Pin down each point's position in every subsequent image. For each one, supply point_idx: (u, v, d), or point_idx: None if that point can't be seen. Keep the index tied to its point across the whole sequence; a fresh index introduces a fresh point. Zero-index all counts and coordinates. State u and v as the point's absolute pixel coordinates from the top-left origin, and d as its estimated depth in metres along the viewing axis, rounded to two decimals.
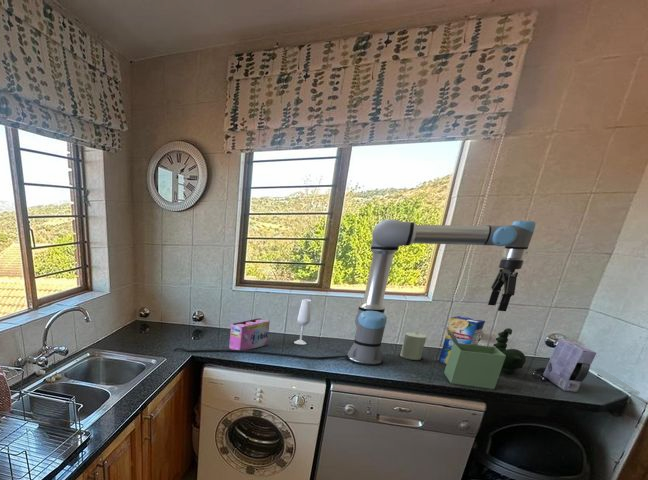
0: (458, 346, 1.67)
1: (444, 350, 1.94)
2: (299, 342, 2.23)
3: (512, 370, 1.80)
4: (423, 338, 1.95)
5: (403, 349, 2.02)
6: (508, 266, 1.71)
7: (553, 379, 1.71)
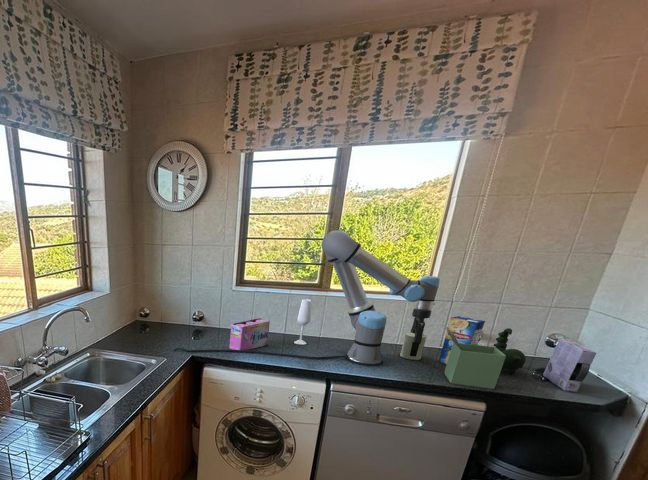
0: (458, 346, 1.67)
1: (444, 350, 1.94)
2: (299, 342, 2.23)
3: (512, 370, 1.80)
4: (423, 338, 1.95)
5: (403, 349, 2.02)
6: (418, 315, 1.93)
7: (553, 379, 1.71)
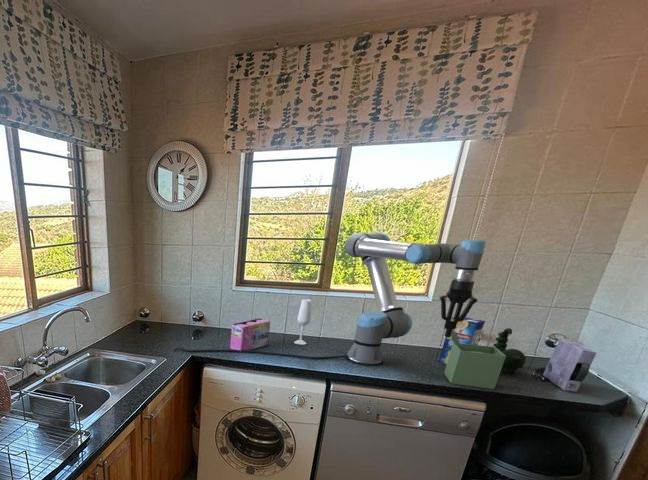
0: (458, 346, 1.66)
1: (444, 350, 1.94)
2: (299, 342, 2.23)
3: (512, 370, 1.80)
4: None
5: None
6: None
7: (553, 379, 1.71)
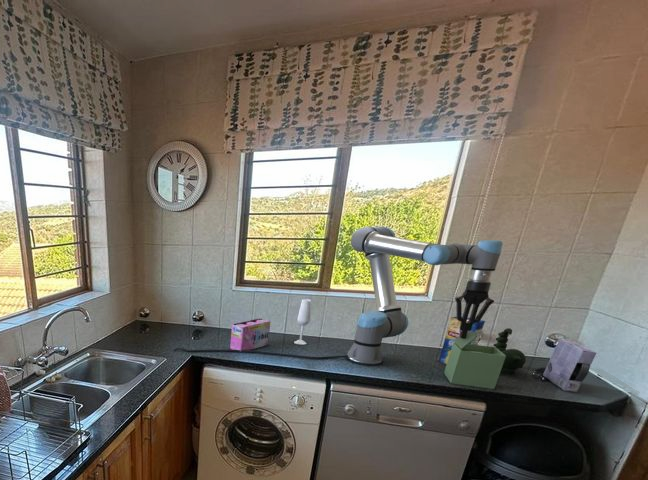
0: (462, 346, 1.66)
1: (444, 350, 1.94)
2: (299, 342, 2.23)
3: (512, 370, 1.80)
4: None
5: None
6: None
7: (553, 379, 1.71)
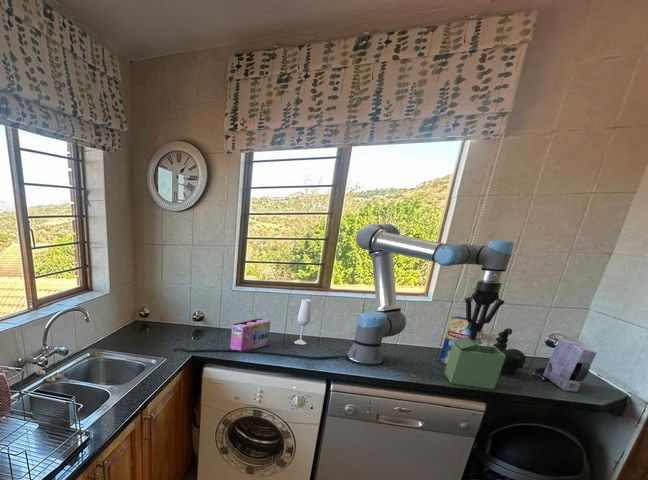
0: (463, 347, 1.66)
1: (444, 350, 1.94)
2: (299, 342, 2.23)
3: (512, 370, 1.80)
4: None
5: None
6: (476, 287, 1.63)
7: (553, 379, 1.71)
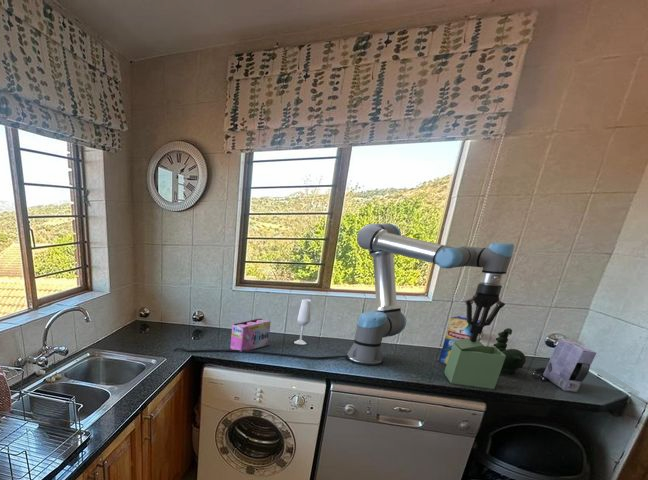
0: (463, 347, 1.66)
1: (444, 350, 1.94)
2: (299, 342, 2.23)
3: (512, 370, 1.80)
4: None
5: None
6: None
7: (553, 379, 1.71)
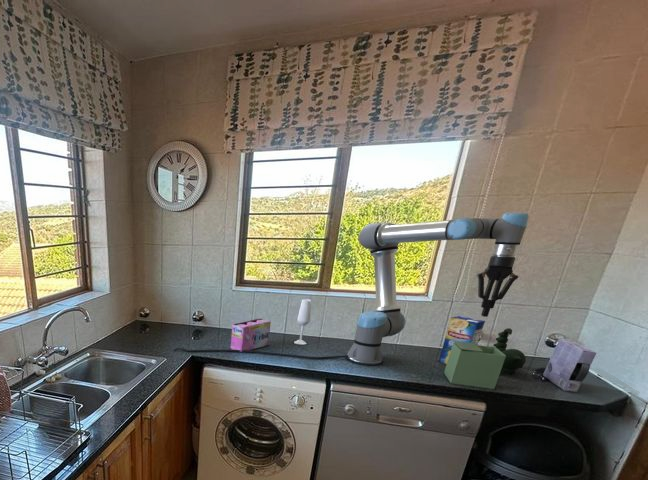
0: (463, 348, 1.66)
1: (444, 350, 1.94)
2: (299, 342, 2.23)
3: (512, 370, 1.80)
4: None
5: None
6: (489, 262, 1.59)
7: (553, 379, 1.71)
